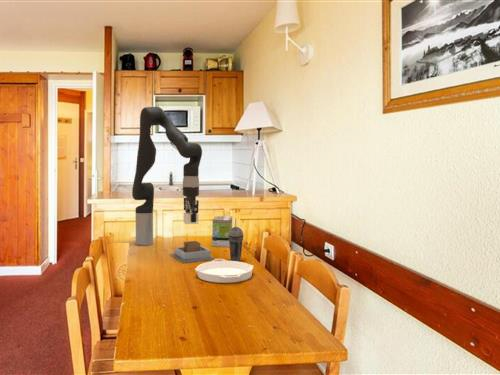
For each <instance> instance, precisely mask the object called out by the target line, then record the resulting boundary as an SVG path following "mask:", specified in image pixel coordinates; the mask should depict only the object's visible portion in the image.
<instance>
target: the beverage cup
mask: <svg viewBox="0 0 500 375" xmlns="http://www.w3.org/2000/svg"><path fill="white" fill-rule="evenodd" d="M234 220H235V222H234V223H235V224H234V227H233V226H232V229H231V230H230V231H229V235H228V237H229V244H230V247H229V255H230V256H229V257H230V261H237V262H241V257H242V249H243V241H244V236H245V235H244V231H243V230H242V229H241V228H240V227H238V226H237V218H236V217H235V218H234Z"/></svg>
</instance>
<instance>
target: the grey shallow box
mask: <svg viewBox="0 0 500 375" xmlns="http://www.w3.org/2000/svg"><path fill="white" fill-rule="evenodd" d="M211 254H212V253H211V250H210V249H209V248H206V247H204V246H202V245H200V251H197V252H187V253H185V252H184V246H177V247H174V253H171V254H169V255H170V256H171V257H172V258H174V259H175V260H177V261H178V262H180V263H181V264H188V263H189V264H192V263H198V262H199V261H200V262H210V261H213V260H215V259H216V258H215V257H213V256H212V255H211Z"/></svg>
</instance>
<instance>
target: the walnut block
mask: <svg viewBox="0 0 500 375" xmlns="http://www.w3.org/2000/svg"><path fill="white" fill-rule="evenodd" d="M200 246H201V242H199V241H196V240H188V241H183V247H184V252H185V253H187V252H197V251H200Z"/></svg>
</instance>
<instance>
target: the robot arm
mask: <svg viewBox="0 0 500 375" xmlns="http://www.w3.org/2000/svg"><path fill="white" fill-rule="evenodd" d="M153 126H161V127H162V128H164V131H165V135H166V138H167V140H168V141H169V142H170V143H171V144H172V145H173V146H174V147H175V148H176V150H177V152H178V153H179V155H180V156H181V157H182V158H185V159H189V161H188V162H187V163H185V164H183V170H182V171H183V173H182V174H183V178H182V196H183V210H184V211H185V212H184V213H191V222H196V214H197V213H198V214H199V202H200V201H199V200H197V198H196V197H198V196H199V195H200V179H199V178H200V177H199V166H200V165H201V160H202V156H203V149H202V146H201V145H200V143H197V142H189V139H188V137H187V135H186V134H184V133H183V132H182V131H181V130H180V129H179V128H178V127H177V126H176V125H175V124H174V123H173V121H172V119H171V118H170V117H169V116H168V114H167V113H166V112H165V111H164V110H163V108H161V107H159V106H148V107H147V106H145V107H143V108H142V109H141V111H140V116H139V140H138V148H137V154H136V155H137V156H136V166H135V173H134V174H135V175H134V177H133V178H134V180H133V183H132V184H133V185H132V191H131V194H132V198H133V200H135V201H145V202H143V203H142V204H141V205H138V206H136V207H135V210H134V211H135V245H136V246H152V245H154V200H155V197H154V196H155V189H154V188H155V187H154V184H153V183H152V182H143V180H144V178H145V176H146V175H147V174H148V172H149V171H151V169H152V167H153V166H154V165H155V162H156V156H157V148H156V146H155V144H154V141H153V140H152V136H151V130H152V129H151V127H153Z"/></svg>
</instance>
